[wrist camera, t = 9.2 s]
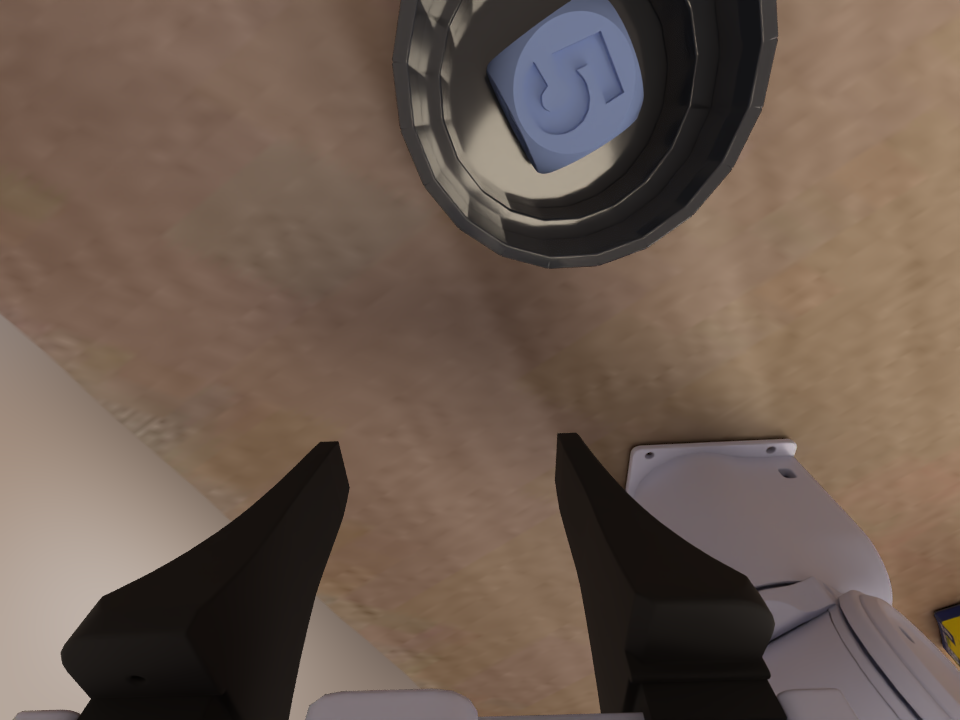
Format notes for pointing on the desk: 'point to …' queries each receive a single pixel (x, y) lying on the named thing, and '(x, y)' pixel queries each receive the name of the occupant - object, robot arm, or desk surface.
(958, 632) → the supplement box
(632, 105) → the decorative dice
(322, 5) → the desk surface
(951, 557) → the desk surface
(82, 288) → the desk surface
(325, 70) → the desk surface
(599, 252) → the dark grey round bowl
